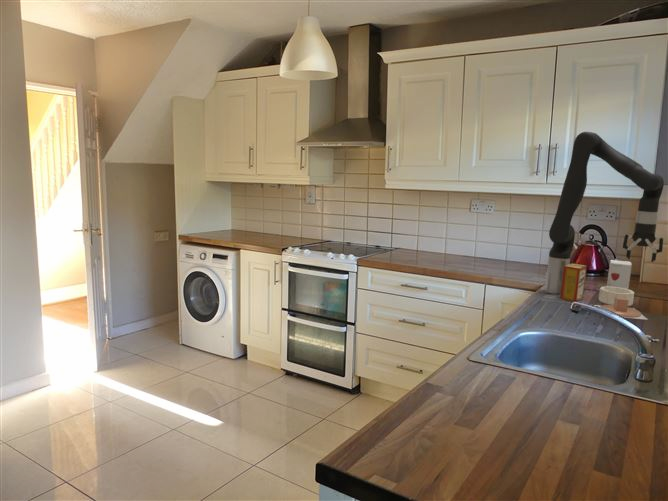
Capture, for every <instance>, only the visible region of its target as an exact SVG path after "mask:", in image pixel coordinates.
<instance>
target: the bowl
mask: <svg viewBox="0 0 668 501" xmlns="http://www.w3.org/2000/svg"><path fill="white" fill-rule="evenodd" d="M615 297H623V298H626V299H628V307H631V306H633V304H634V297H635V291H633V290H631V289H629V288H628V289H625V288H620V287H610V286H607V285H606V286H601V287H600V288H599V294H598V301H599V302H600V303H603V304H605V305H614V299H615Z"/></svg>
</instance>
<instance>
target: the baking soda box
mask: <svg viewBox="0 0 668 501" xmlns="http://www.w3.org/2000/svg"><path fill="white" fill-rule="evenodd" d="M587 267H588V266H587V265H584V264H577V263H570V264H569V265H566V266H564V274H563V282H562V291H561V294H560V299H561V300H567V301H570V302H575V301H576V302H578V301H579V300H582V299H583V298H584V292H585V286H586V277H587Z"/></svg>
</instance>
